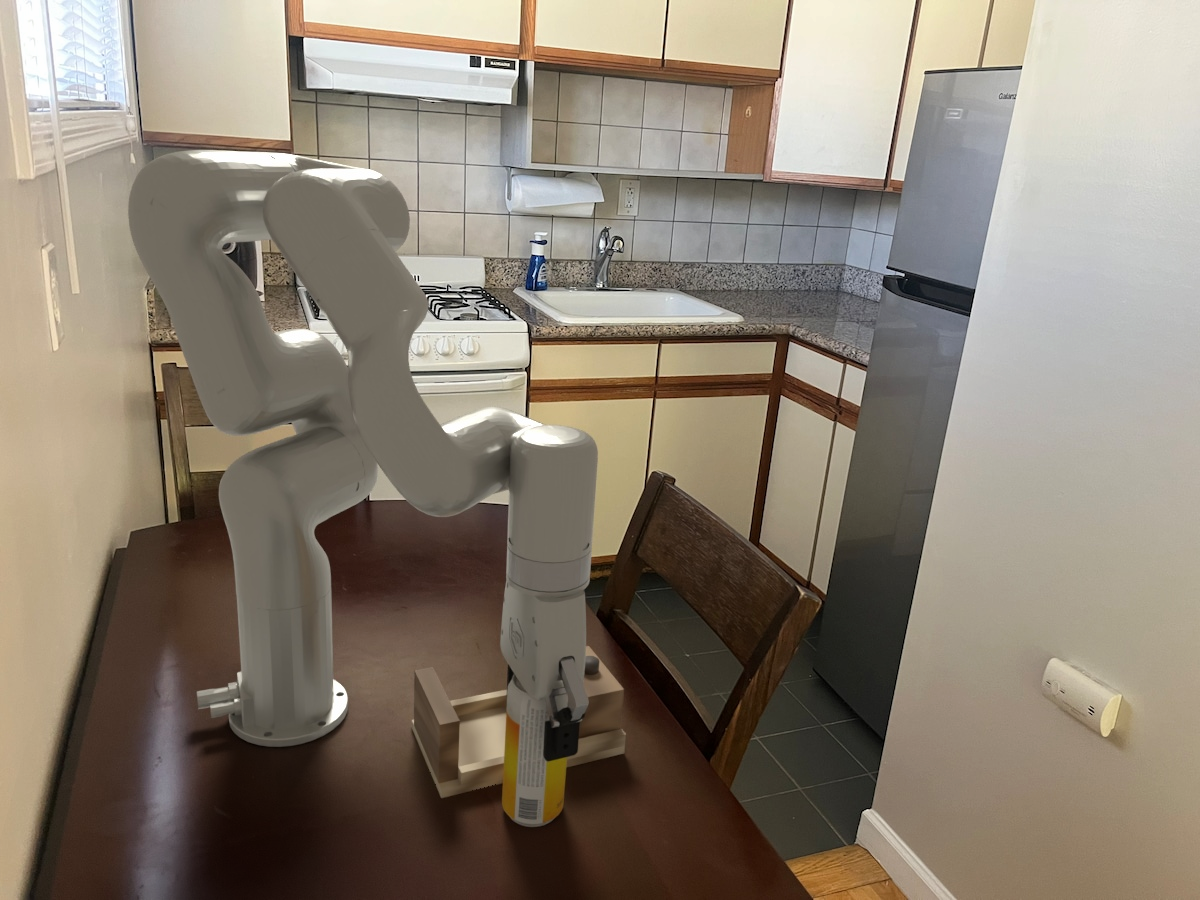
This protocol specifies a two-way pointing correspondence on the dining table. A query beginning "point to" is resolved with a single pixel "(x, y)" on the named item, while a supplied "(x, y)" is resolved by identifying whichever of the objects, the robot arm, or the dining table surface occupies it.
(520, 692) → the beer can
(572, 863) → the dining table surface
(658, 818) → the dining table surface
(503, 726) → the vise base
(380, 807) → the dining table surface
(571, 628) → the robot arm
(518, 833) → the dining table surface
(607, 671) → the block
